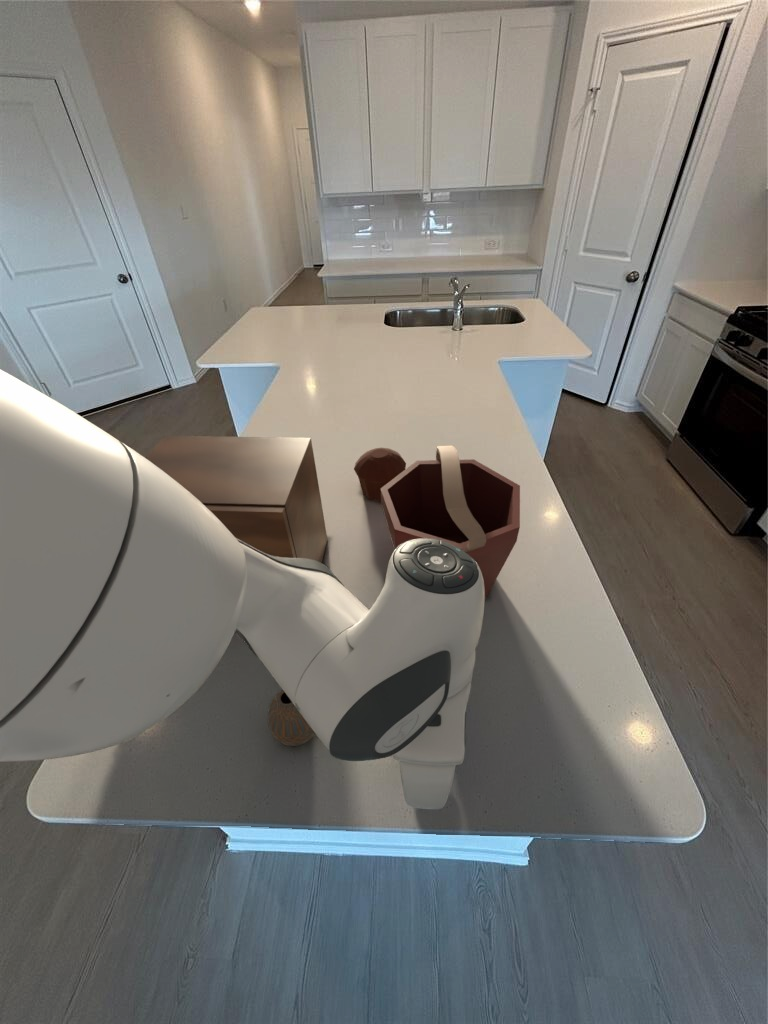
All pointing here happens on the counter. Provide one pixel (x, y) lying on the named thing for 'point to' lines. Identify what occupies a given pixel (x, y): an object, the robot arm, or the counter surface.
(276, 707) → the vase
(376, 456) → the muffin
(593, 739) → the counter surface
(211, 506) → the cupboard door
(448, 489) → the bucket
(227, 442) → the cupboard
